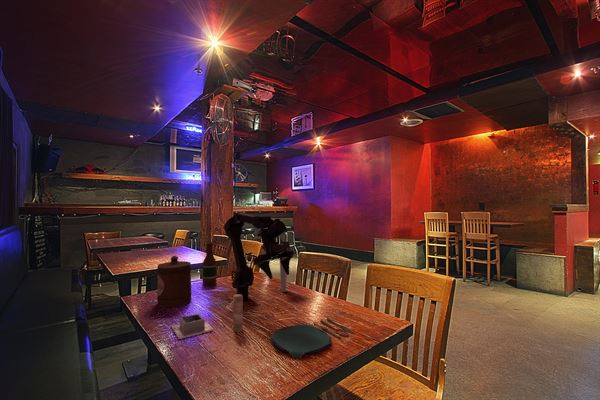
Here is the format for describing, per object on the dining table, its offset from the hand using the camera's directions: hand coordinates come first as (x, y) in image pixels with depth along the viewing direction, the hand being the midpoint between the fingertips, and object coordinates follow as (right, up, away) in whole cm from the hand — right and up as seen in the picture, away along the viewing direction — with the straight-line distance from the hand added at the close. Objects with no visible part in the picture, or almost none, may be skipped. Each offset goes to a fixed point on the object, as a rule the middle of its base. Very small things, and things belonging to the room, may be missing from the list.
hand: (280, 276), depth 121 cm
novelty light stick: (0, -17, +32) cm, 36 cm away
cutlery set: (+13, -17, -20) cm, 29 cm away
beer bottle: (-44, -17, +46) cm, 65 cm away
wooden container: (-51, -17, +16) cm, 56 cm away
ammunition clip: (-30, -17, +55) cm, 65 cm away
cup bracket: (-32, -16, -13) cm, 38 cm away
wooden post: (-15, -16, -13) cm, 26 cm away
